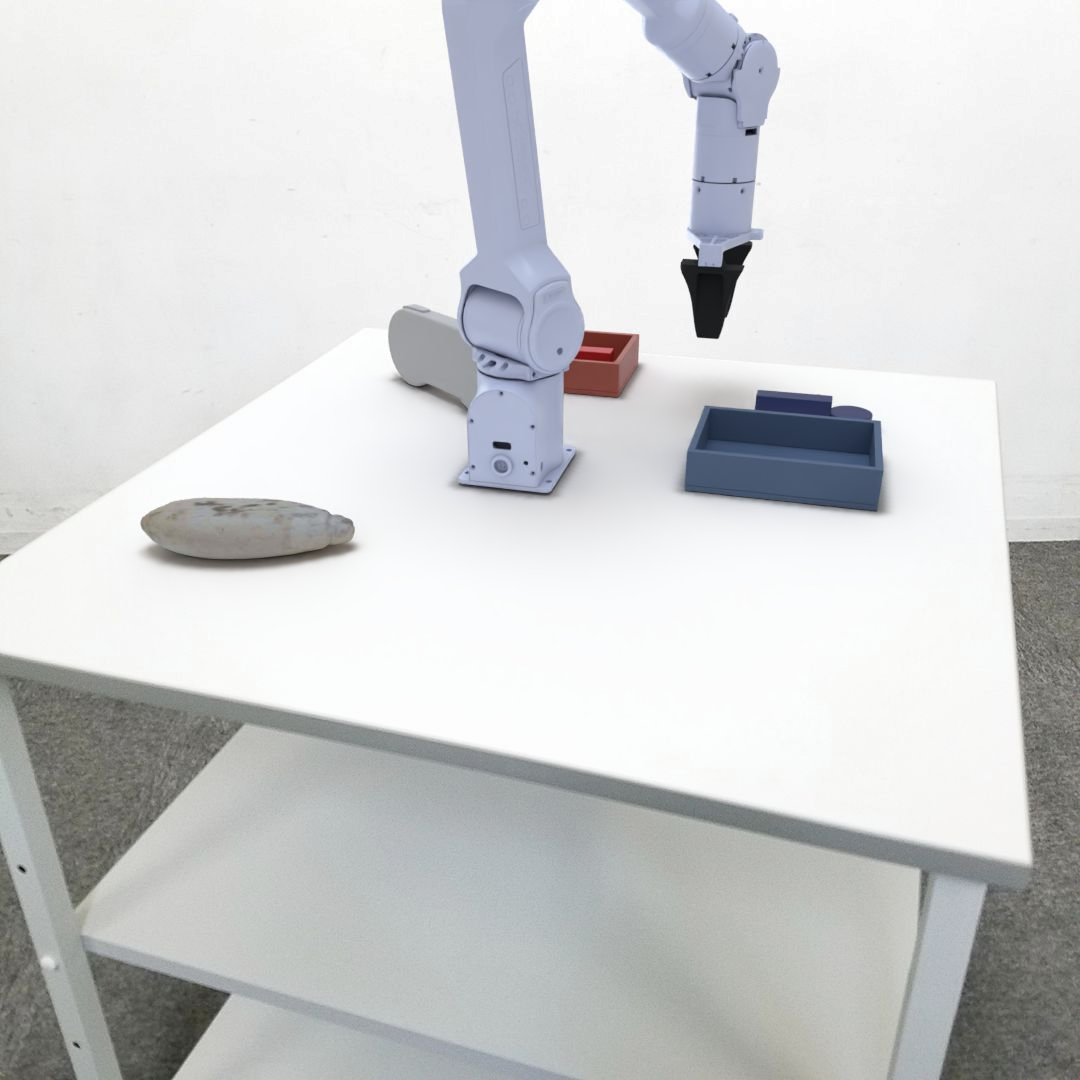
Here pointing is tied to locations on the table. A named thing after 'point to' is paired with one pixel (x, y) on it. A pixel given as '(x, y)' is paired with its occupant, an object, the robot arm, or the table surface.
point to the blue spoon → (806, 405)
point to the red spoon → (595, 354)
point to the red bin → (603, 365)
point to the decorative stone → (244, 527)
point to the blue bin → (786, 457)
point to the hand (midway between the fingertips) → (712, 326)
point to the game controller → (432, 352)
